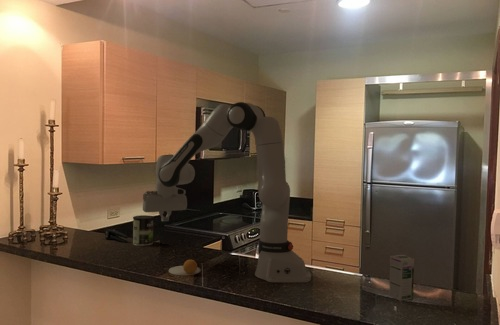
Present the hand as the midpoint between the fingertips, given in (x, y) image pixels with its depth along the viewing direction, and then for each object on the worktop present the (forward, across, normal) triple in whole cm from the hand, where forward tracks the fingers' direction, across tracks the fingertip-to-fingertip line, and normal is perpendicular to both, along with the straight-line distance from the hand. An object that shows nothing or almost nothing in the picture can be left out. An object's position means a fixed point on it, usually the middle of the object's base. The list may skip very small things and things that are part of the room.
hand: (164, 221), depth 183 cm
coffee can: (+17, +2, +32) cm, 37 cm away
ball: (+14, 0, -26) cm, 29 cm away
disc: (+17, 0, -21) cm, 27 cm away
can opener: (+18, -7, +46) cm, 50 cm away
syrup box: (+17, +51, -87) cm, 102 cm away
